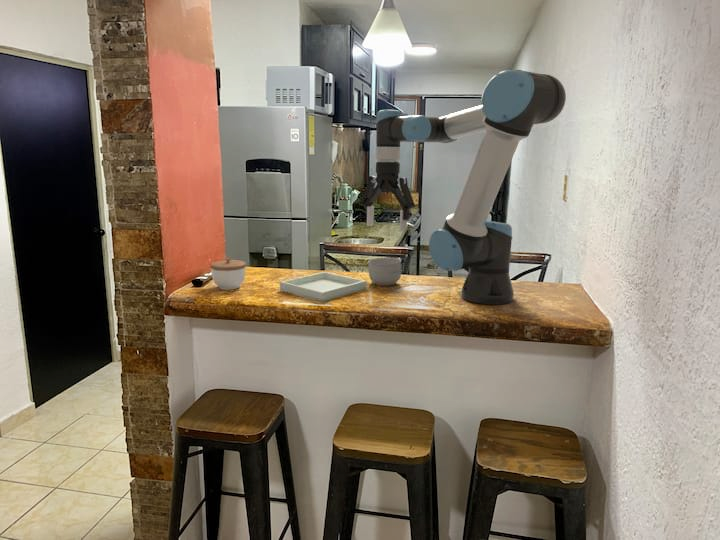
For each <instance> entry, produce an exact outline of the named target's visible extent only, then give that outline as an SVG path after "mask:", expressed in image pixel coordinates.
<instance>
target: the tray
mask: <svg viewBox="0 0 720 540" xmlns="http://www.w3.org/2000/svg"><path fill="white" fill-rule="evenodd" d="M367 283H368V281H367V280H364V279H360V278H355V277H352V276H346V275H342V274H338V273H332V272H328V271H322V272H321V271H320V272H317V273H313V274H309V275H304V276H300V277H295V278H291V279H287V280H282V281H279V291H280V290H281V291H280V292H283V291H284V292H283V293H287V292H288V293H287V294H290V293H292V294H291V295H294V294H296V295H295V296H298V295H299V297H302V296H303V298H305V297H307V298H306V299H309V298H310V300H313V299H314V300H313V301H316V300H317V302H320V303H324V302H327V301H331V299H332V300H335V299H338V297H339V298H342V297H345V295H346V296H348V294H349V295H352V294H351V293H353V294H356V293H360V292H362V291H366V290H367ZM355 292H356V293H355ZM334 298H335V299H334Z"/></svg>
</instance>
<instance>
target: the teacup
mask: <svg viewBox="0 0 720 540" xmlns="http://www.w3.org/2000/svg"><path fill="white" fill-rule="evenodd" d="M367 264H368V277H369V279H370V281H371V282H372V283H373V284H375V285H376V286H380V285H381V286H383V287H386V286H387V287H389V286H393V285H395V284H397V282H398V281H399V280H400V279H401V277H402V259H400V258H396V257H389V256H385V257H375V258H371V259H369V260H368V262H367Z"/></svg>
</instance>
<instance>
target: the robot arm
mask: <svg viewBox="0 0 720 540" xmlns="http://www.w3.org/2000/svg"><path fill="white" fill-rule="evenodd" d="M566 98H567V96H566V90H565V87H564V85H563V84H562V82H561V81H560V80H559V79H558V78H556V77H555V76H553V75H550V74H545V73H544V74H543V73H538V72H534V71H533V72H531V71H526V70H522V69H514V70H513V69H507V70H506V69H505V70H503V71H500V72H499V73H497V74H495V75H494V76H493V77H492V78H491V79H490V80H489V81H488V82H487V83H486V85H485V87H484V89H483V92H482V95H481V100H480V101H481V102H480V103H481V104H480V105H478V106H473V107H470V108H467V109H463V110H460V111H457V112H454V113H449V114H447V115H443V116H440V117H438V116H425V115H420V114H412V115H404V116H402V112H401V111H400V110H397V109H381V110H379V111H378V112H377V115H376V124H375V126H376V129H375V130H376V133H375V134H376V138H375V139H376V141H375V142H376V143H375V144H376V147H375V160H376V163H375V173H376V175H369V176H368V179H367V180H368V181H367V184H366V187H365V189H364V192H363V194H362V197H361V199H360V204H361V205H362V204H363V205H364V206H365V216H366V227H373V226H374V225H375V224H374V222H375V206H374V203H375V201H376V200H377V198H378V197H379V196H380V194H381V193H382V192H385V191H386V192H391V193H392V194H393V195H394V197H395V199H396V200H397V203H398V204H399V205H400V207H401V209H400V211H399V215H400V216H399V231H401V232H402V231H407V230H408V228H407V227H408V221H409V220H410V209H414V208H415V207H416V205H415V202H414V199H413V196H412V193H411V191H410V188H409V185H408V178H407V176H406V177H399V175H400V172H401V171H400V167H401V166H400V165H401V164H400V162H399V161H400V159H401V142H403V143H404V142H405V143H441V144H448V143H449V144H450V143H454V142H456V141H457V140H458V139H460V138H461V139H462V138H465V137H469V136H473V135H477V134H478V135H479V134H482V133H484V135H483V137H482V140H481V142H480V145H479V148H478V151H477V152H476V153H477V154H476V155H475V157H474V158H475V159H474V161H473V164H472V166H471V169H470V171H469V174H468V177H467V180H466V182H465V185H464V187H463V190H462V193H461V196H460V198H459V200H458V203H457V204H456V205H457V206H456V208H455V210H454V213H451V214H449V215H447V216H446V218H445V221H444V223H443V227H442V228H439V229H437V230H435V231H433V232H432V234H431V235H430V237H429V241H428V250H429V253H430V256H431V257H430V258H431V260H432V261H433V262H434V264H435V265H436V266H437V268H440V270H442V271H447V272H449V271H454V272H457V271H460V270H464V269H468V273H467V275H466V277H465V280H464V282H463V285H462V287H461V295H460V296H461V298H462V299H463V300H465V301H467V302H468V301H469V302H470V303H474V304H480V305H496V306H497V305H504V304H505V305H506V304H510V303H512V302H514V295H515V294H514V289H513V285H512V284H513V283H512V280H511V277H510V263H511V253H512V251H511V250H512V241H513V236H512V235H513V228H512V226H511V225H510V224H509V223H504V222H500V221H499V222H498V221H492V220H488V218H489V215H490V212H491V210H492V209H493V206H494V204H495V203H494V202H495V200H496V198H497V195H498V194H499V191H500V189H501V187H502V185H503V181H504V179H505V176H506V174H507V172H508V169H509V167H510V165H511V163H512V160H513V157H514V155H515V152H516V150H517V147H518V146H519V143H520V141H522V140H524V139H526V138H528V137H529V136H530V133H531V131H532V128H533V126H534V125H538V124H546V123H550V122H551V121H553V120H555V119H556V118H557V117H558V116H559V115H560V114H561V113H562V111H563V110H564V107H565V105H566Z"/></svg>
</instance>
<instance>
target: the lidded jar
mask: <svg viewBox="0 0 720 540" xmlns="http://www.w3.org/2000/svg"><path fill="white" fill-rule="evenodd" d="M246 264H247V263H246V261H243V260H238V259H237V260H236V259H230V258H229V257H226V259H225V260H217V261H213V262H211V263H210V270H211V271H210V273H211V277H212V280H213V283H214V284H215V285H216V286H217V287H219V289H220V290H223V291H229V290H231V291H232V290H237V289H239V288H240V286H241V285H242V284H243V282H244V281H245V279H246V273H247V272H246V271H247V270H246V268H247V267H246V266H247V265H246Z"/></svg>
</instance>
